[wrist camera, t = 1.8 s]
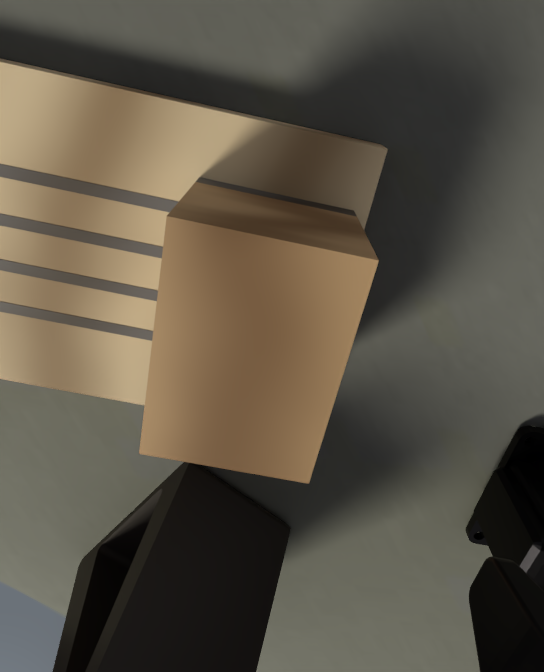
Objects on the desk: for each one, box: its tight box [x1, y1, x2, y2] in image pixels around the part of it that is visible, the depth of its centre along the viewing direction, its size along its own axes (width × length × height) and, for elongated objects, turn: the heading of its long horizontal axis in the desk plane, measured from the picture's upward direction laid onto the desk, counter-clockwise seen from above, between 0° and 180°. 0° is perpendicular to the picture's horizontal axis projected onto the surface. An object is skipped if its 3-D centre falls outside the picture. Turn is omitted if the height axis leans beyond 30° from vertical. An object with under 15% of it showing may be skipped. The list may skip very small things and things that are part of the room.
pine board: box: [0, 58, 388, 405], centre depth 18 cm, size 18×11×1 cm, turn 78°
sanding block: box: [139, 177, 379, 484], centre depth 16 cm, size 5×7×5 cm
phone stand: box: [53, 462, 290, 672], centre depth 20 cm, size 9×6×12 cm, turn 138°
